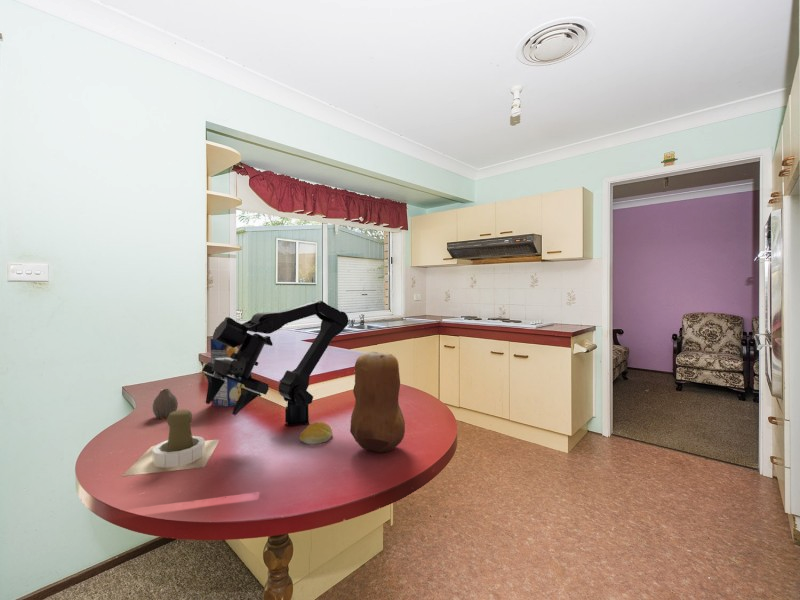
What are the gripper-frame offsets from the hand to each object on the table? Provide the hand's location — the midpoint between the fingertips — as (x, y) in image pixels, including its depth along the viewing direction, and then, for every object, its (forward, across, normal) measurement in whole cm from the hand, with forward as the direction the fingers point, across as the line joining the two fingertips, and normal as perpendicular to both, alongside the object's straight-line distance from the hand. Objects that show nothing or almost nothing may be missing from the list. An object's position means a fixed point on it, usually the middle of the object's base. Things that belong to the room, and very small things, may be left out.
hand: (220, 409), depth 97 cm
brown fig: (+10, -32, +17) cm, 38 cm away
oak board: (+13, -1, -5) cm, 14 cm away
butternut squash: (-4, +42, +10) cm, 43 cm away
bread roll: (-1, +23, +13) cm, 27 cm away
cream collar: (+12, 0, -6) cm, 14 cm away
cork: (+12, +1, -6) cm, 14 cm away
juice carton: (0, -24, +35) cm, 42 cm away
